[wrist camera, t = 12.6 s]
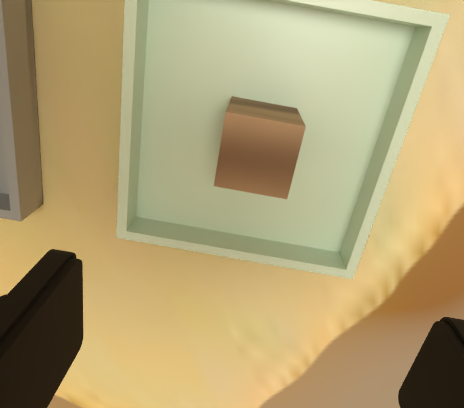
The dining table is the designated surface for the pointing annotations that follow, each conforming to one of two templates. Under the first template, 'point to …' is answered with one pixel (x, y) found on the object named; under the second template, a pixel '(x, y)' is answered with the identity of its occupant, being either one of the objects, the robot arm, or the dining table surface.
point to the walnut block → (259, 147)
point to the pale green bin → (275, 92)
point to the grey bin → (18, 114)
